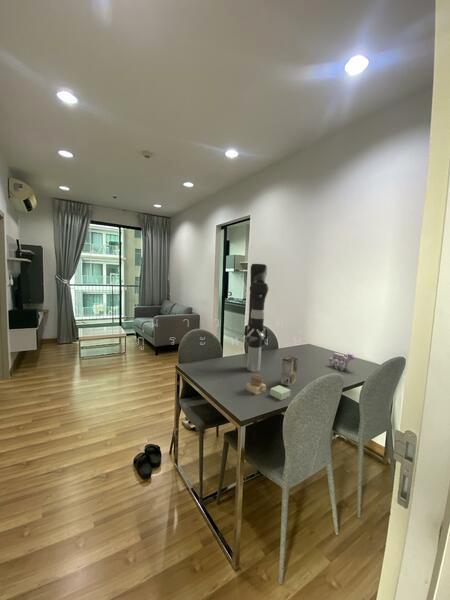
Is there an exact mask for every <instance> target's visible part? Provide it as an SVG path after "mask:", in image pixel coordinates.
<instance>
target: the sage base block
mask: <svg viewBox="0 0 450 600" xmlns="http://www.w3.org/2000/svg"><path fill="white" fill-rule="evenodd" d="M269 395H270V396H272V397H274V398H275V399H278V400H279V401H282V399H283V400H285V399H288V398H290V397H291V389H289V388H286V387H284V386H282V385H279V384H278V385H276V386H273V387H271V388H270V390H269ZM289 396H290V397H289ZM287 397H288V398H287Z"/></svg>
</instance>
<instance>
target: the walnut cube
mask: <svg viewBox="0 0 450 600" xmlns="http://www.w3.org/2000/svg"><path fill="white" fill-rule="evenodd" d="M250 382H251V385H253V386H257V387H259V386H260V385H261V384H262V383H263V375H260V374H256V373H254V374H252V376H251V379H250Z"/></svg>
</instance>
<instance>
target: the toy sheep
mask: <svg viewBox="0 0 450 600" xmlns="http://www.w3.org/2000/svg"><path fill="white" fill-rule="evenodd" d="M332 355H333V356H332V357H329V358H328V361H329V367H330V368H331V367H332V365H333V366H335V369H336V370H338V367H339V368H340V371H341V372H343V371H344V369H346V370H347V368H348V365H349V363H350V361H352V360H357V358H356V357H355V356H354V354H353V353H351V352H348V353H345V354H341V353H338V352H333V354H332ZM332 362H333V364H332ZM344 364H345V365H344Z"/></svg>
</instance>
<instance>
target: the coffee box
mask: <svg viewBox="0 0 450 600" xmlns="http://www.w3.org/2000/svg"><path fill="white" fill-rule="evenodd" d="M281 365H282V367H281V378H280V380H281V381H280V384H282V385H284V386H285V385H286V386H288V387H291V386H292V385H293V384H295V383H296V382H297V381H296V380H297V371H298V370H297V369H298V357H294V356H291V355H287V356H286V357H284V358H282V364H281Z"/></svg>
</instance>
